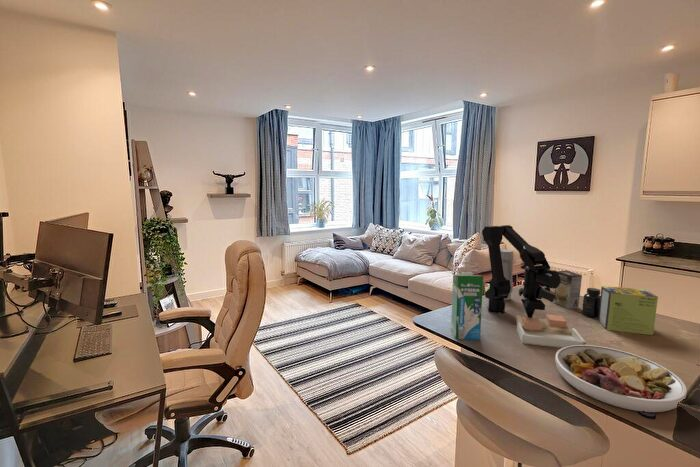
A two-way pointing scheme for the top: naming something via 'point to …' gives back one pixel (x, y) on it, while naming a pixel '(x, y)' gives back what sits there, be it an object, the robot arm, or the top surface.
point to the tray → (549, 338)
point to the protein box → (627, 310)
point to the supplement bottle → (591, 303)
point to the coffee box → (568, 289)
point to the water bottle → (508, 267)
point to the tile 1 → (531, 323)
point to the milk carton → (467, 306)
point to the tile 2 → (556, 320)
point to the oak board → (547, 327)
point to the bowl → (620, 378)
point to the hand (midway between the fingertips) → (529, 318)
